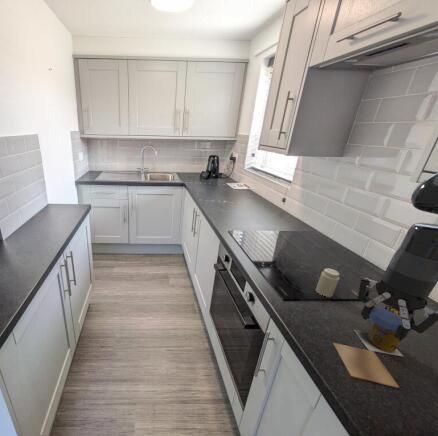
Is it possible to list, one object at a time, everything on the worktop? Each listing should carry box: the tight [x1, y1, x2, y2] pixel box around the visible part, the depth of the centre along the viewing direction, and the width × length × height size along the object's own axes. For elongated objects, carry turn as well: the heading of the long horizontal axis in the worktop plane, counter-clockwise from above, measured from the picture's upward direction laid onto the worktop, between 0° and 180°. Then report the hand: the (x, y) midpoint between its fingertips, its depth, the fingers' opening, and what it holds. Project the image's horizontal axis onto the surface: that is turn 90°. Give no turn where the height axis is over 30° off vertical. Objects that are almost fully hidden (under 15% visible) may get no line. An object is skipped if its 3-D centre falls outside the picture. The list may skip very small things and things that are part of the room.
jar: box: [314, 267, 340, 298], centre depth 87 cm, size 5×5×10 cm
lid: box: [369, 306, 403, 331], centre depth 56 cm, size 6×6×2 cm
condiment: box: [353, 305, 404, 357], centre depth 66 cm, size 7×8×12 cm
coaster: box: [332, 342, 400, 389], centre depth 61 cm, size 10×10×1 cm
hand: (381, 327), depth 57 cm, fingers closed on lid, 5 cm apart
